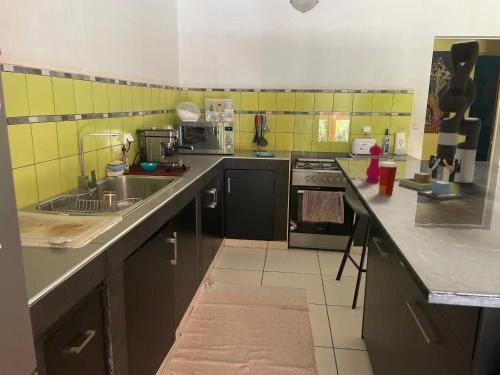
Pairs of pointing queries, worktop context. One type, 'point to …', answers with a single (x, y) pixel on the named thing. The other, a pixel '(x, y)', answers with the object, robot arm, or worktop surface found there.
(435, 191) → the slate cube
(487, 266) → the worktop surface
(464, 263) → the worktop surface
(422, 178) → the walnut block
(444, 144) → the robot arm
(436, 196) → the letter mat
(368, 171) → the pepper mill
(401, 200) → the worktop surface
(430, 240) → the worktop surface
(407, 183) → the tray
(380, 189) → the paper cup
